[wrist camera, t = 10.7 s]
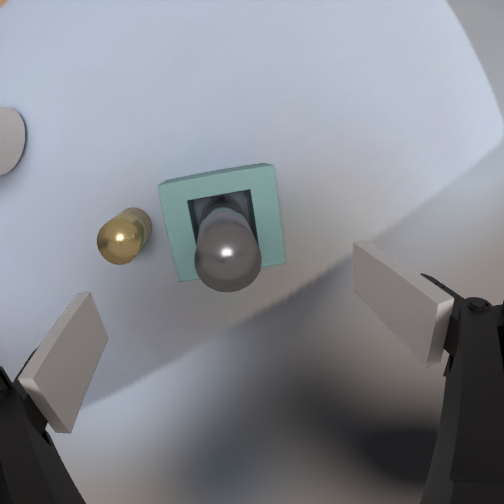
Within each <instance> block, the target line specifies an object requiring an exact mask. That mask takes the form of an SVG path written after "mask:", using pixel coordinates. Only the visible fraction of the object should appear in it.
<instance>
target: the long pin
mask: <svg viewBox="0 0 504 504" xmlns="http://www.w3.org/2000/svg"><path fill="white" fill-rule="evenodd" d="M261 264H262V256H261V251H260V249H259V246H258V244H257V242H256V240H255V237H254V235H253V233H252V231H251V229H250V226H249V224H248V222H247V220H246V218H245V215H244V213H243V211H242V209H241V207H240V205H239V203H238V202H237V200H236V199H234V198H233V197H231V196H229V195H224V194H221V195H216V196H214V197H212V198H210V199H209V200H208V201H207V202H206V204H205V206H204V208H203V213H202V218H201V223H200V229H199V234H198V240H197V245H196V251H195V257H194V265H195V269H196V272H197V274H198V276H199V278H200V279H201V280H202V282H203V283H205V284H206V285H207V286H208V287H210V288H212V289H214V290H217V291H221V292H234V291H238V290H241V289H243V288H245V287H247V286H248V285H250V284H251V283H252V282H253V281H254V280H255V278H256V277H257V275H258V273H259V271H260V268H261Z"/></svg>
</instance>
